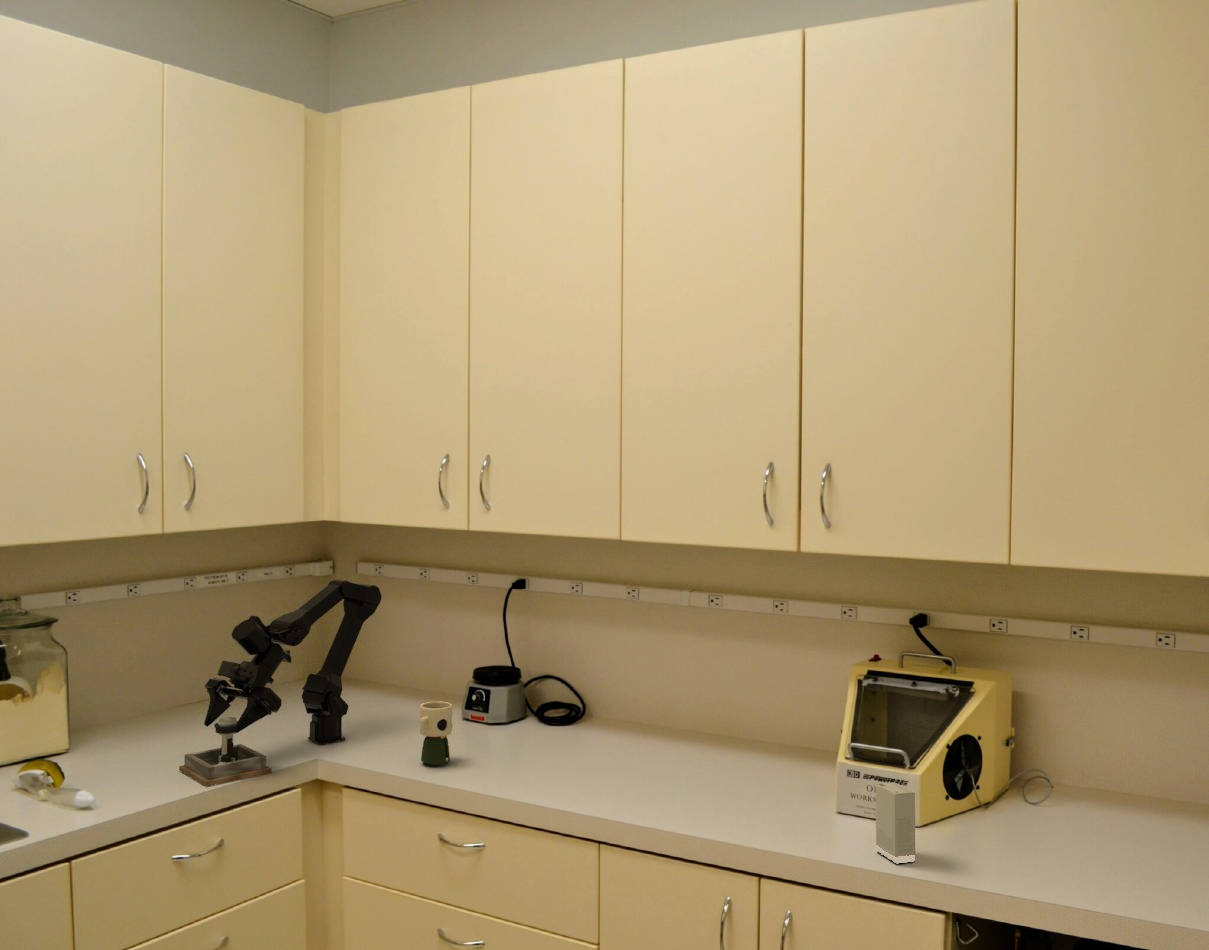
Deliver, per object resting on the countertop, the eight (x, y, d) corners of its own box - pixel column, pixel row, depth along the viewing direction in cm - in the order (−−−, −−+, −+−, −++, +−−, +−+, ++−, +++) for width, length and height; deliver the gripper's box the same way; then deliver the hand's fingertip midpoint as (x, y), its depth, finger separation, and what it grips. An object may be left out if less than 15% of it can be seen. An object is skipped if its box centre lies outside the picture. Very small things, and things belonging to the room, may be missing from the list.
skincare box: (916, 862, 175) (918, 792, 175) (894, 865, 173) (895, 794, 173) (894, 849, 181) (896, 781, 180) (873, 852, 179) (874, 783, 179)
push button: (231, 772, 215) (231, 724, 215) (206, 771, 215) (206, 723, 215) (244, 762, 221) (245, 716, 221) (220, 761, 222) (221, 715, 222)
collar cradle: (242, 758, 228) (242, 742, 228) (271, 772, 218) (271, 756, 218) (179, 770, 218) (179, 754, 218) (206, 786, 208) (206, 769, 208)
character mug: (434, 772, 220) (435, 712, 220) (407, 767, 223) (407, 708, 223) (462, 759, 230) (463, 701, 230) (436, 755, 233) (437, 697, 233)
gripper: (212, 641, 226) (168, 701, 217) (271, 650, 216) (228, 713, 207) (241, 670, 233) (199, 730, 223) (299, 680, 223) (258, 743, 214)
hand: (220, 728), depth 217 cm, fingers open, 9 cm apart
